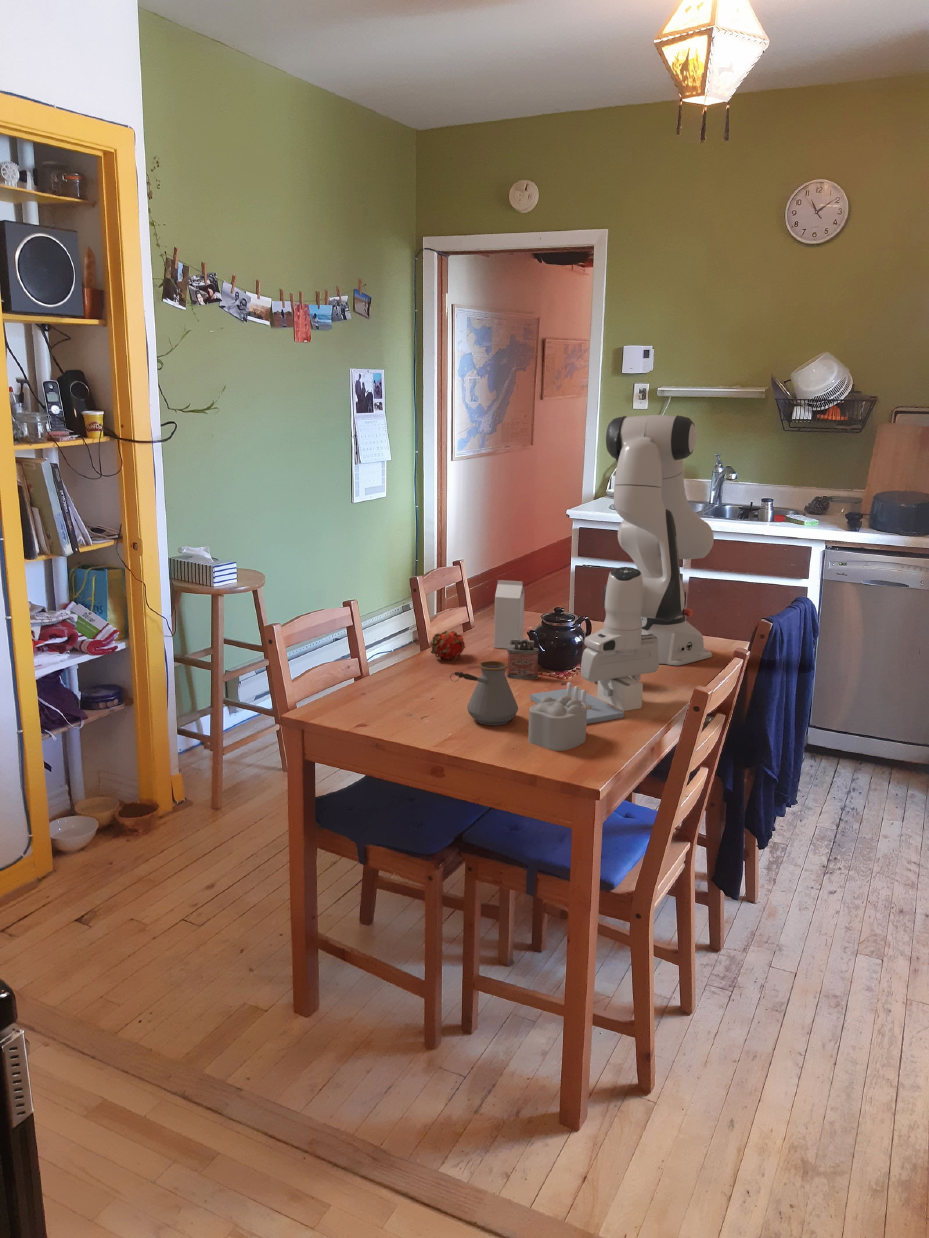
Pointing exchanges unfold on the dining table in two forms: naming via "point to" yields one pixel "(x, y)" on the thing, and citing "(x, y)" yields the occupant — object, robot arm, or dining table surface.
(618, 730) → the dining table surface
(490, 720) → the coffee pot
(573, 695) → the board
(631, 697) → the block
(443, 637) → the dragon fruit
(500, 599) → the milk carton
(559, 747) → the lumpy-topped squat cylinder
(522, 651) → the lighter
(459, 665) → the dining table surface
